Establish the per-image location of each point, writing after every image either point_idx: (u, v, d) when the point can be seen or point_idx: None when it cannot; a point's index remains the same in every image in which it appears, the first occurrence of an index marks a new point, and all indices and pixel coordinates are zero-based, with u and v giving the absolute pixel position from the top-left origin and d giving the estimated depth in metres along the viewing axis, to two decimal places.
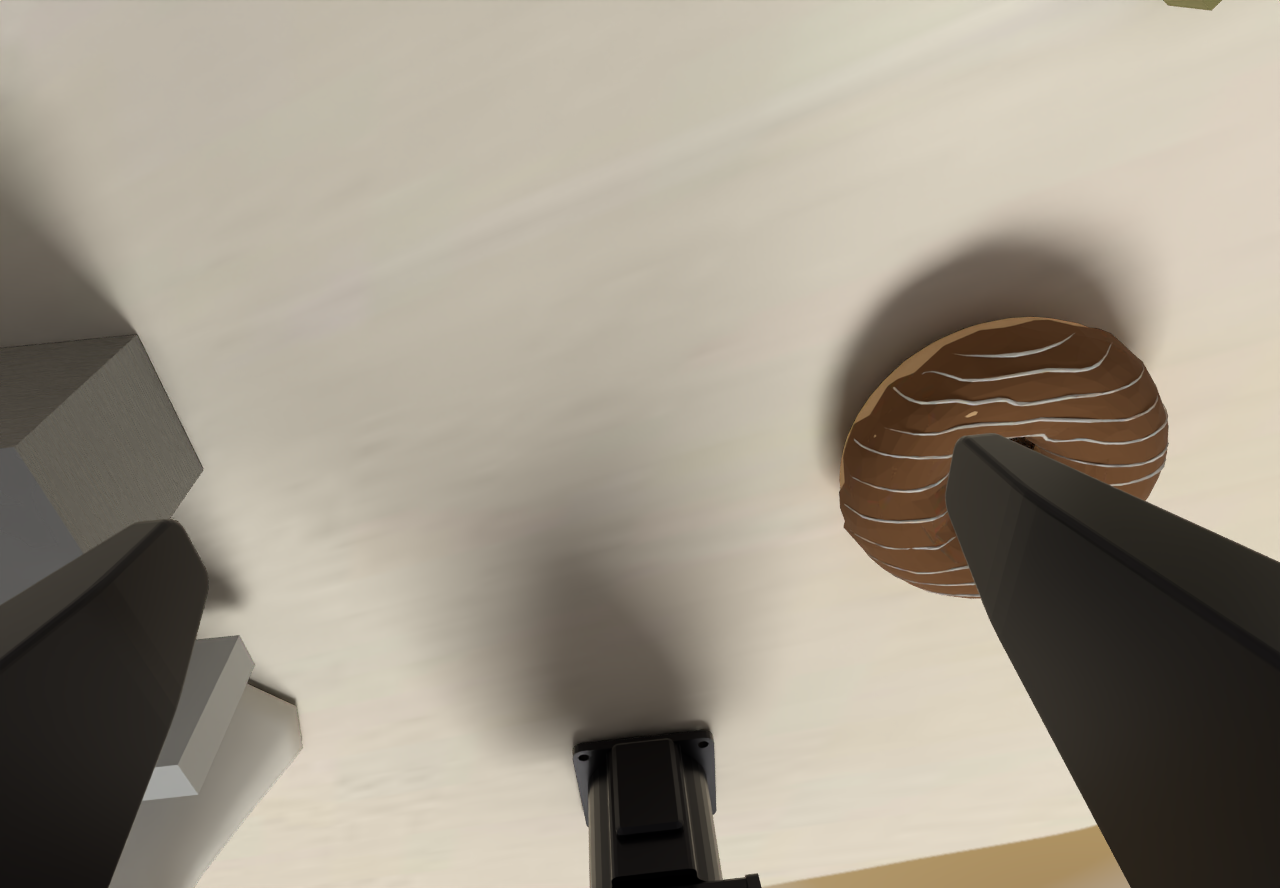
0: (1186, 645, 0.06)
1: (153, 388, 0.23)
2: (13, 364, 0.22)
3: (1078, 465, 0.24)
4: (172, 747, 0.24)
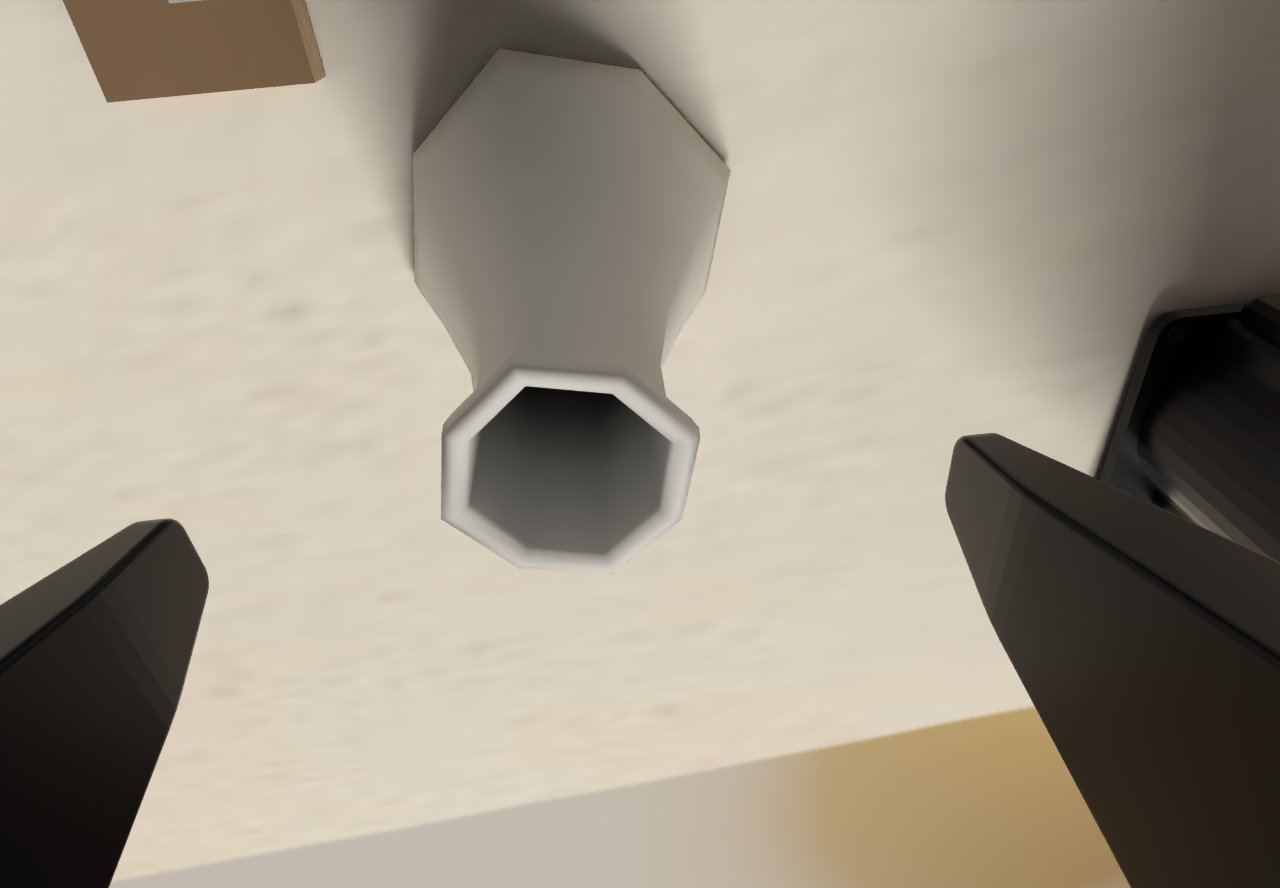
0: (1186, 645, 0.06)
1: None
2: None
3: None
4: None
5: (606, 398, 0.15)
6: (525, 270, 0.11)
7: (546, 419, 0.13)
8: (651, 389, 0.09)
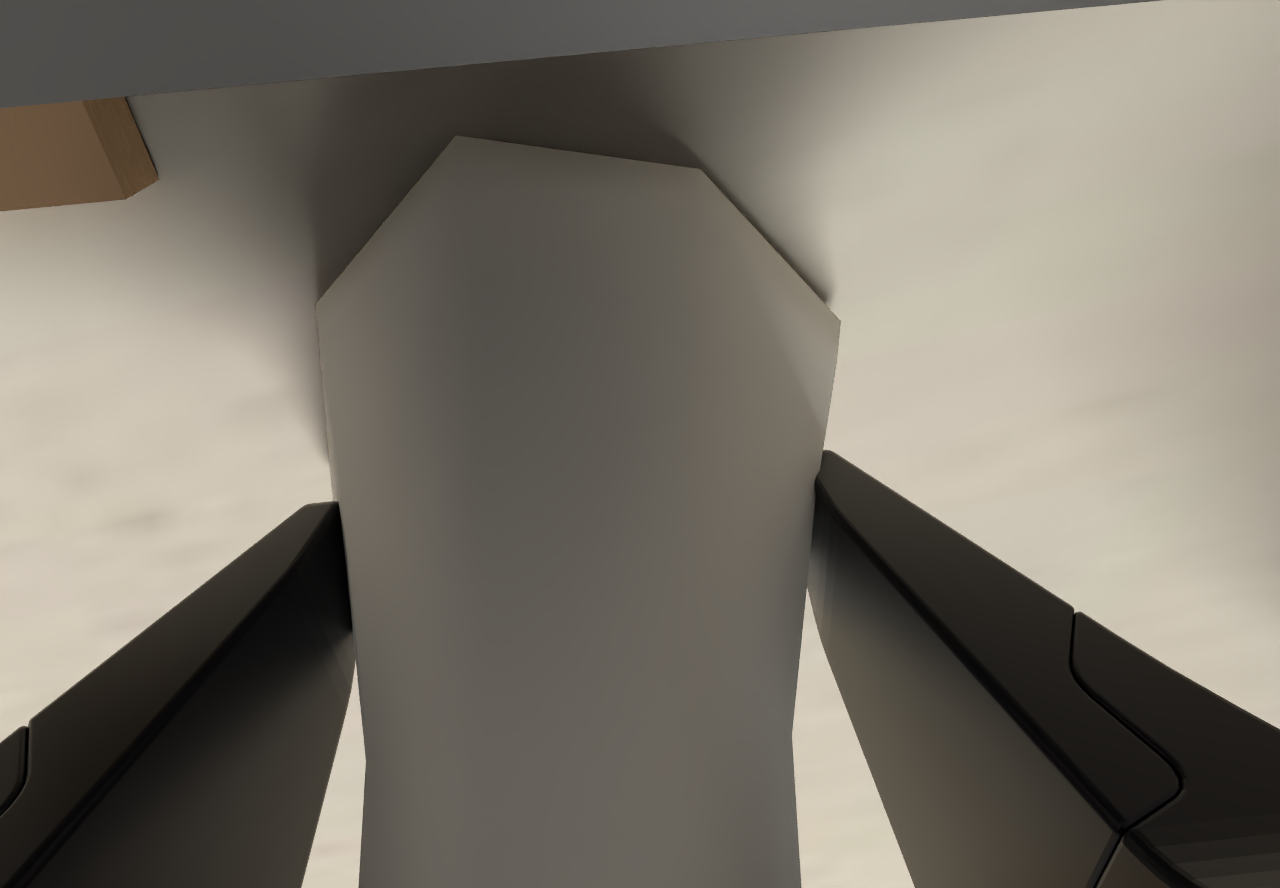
0: (939, 672, 0.06)
1: None
2: None
3: None
4: None
5: None
6: (473, 754, 0.05)
7: None
8: None
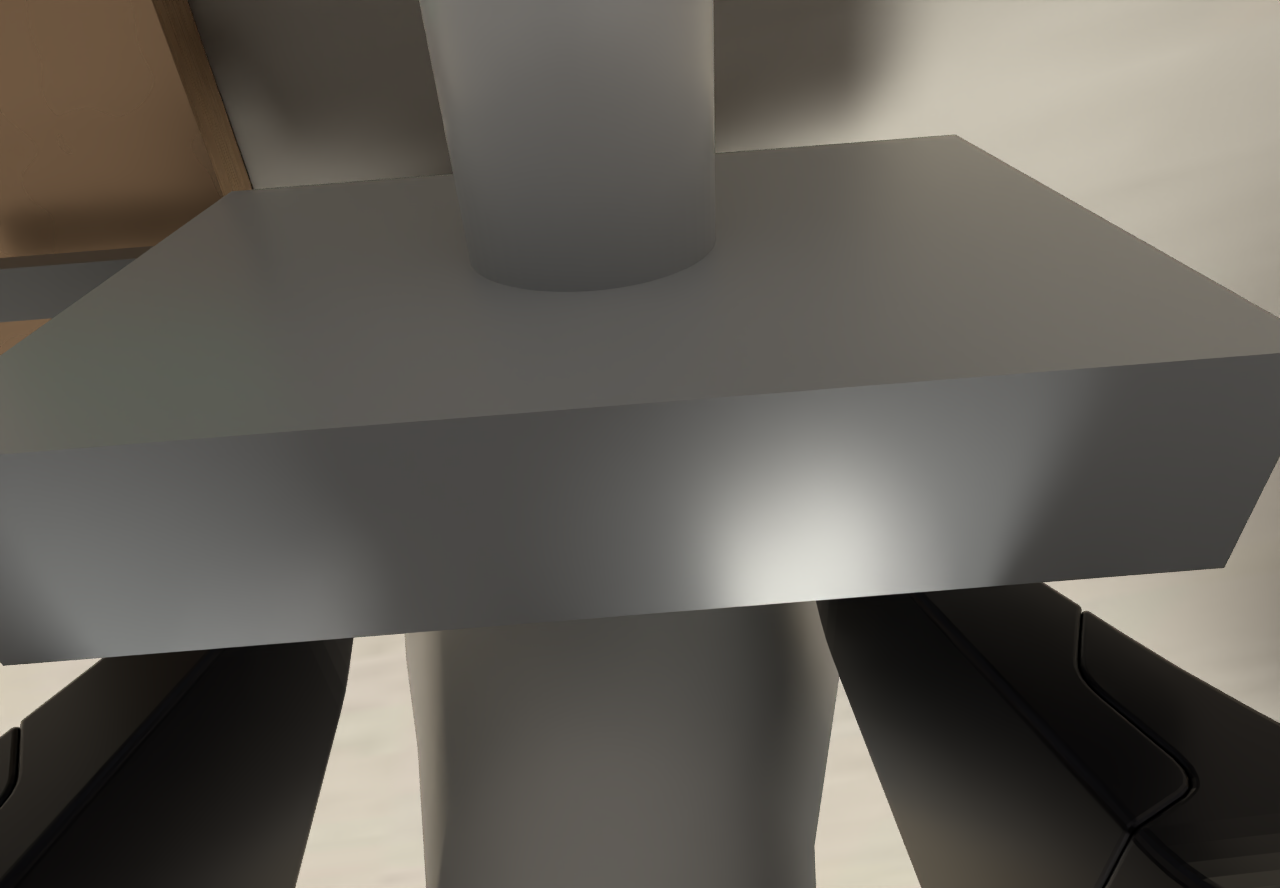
0: (946, 671, 0.06)
1: None
2: None
3: None
4: (1174, 305, 0.05)
5: None
6: (551, 793, 0.06)
7: None
8: None
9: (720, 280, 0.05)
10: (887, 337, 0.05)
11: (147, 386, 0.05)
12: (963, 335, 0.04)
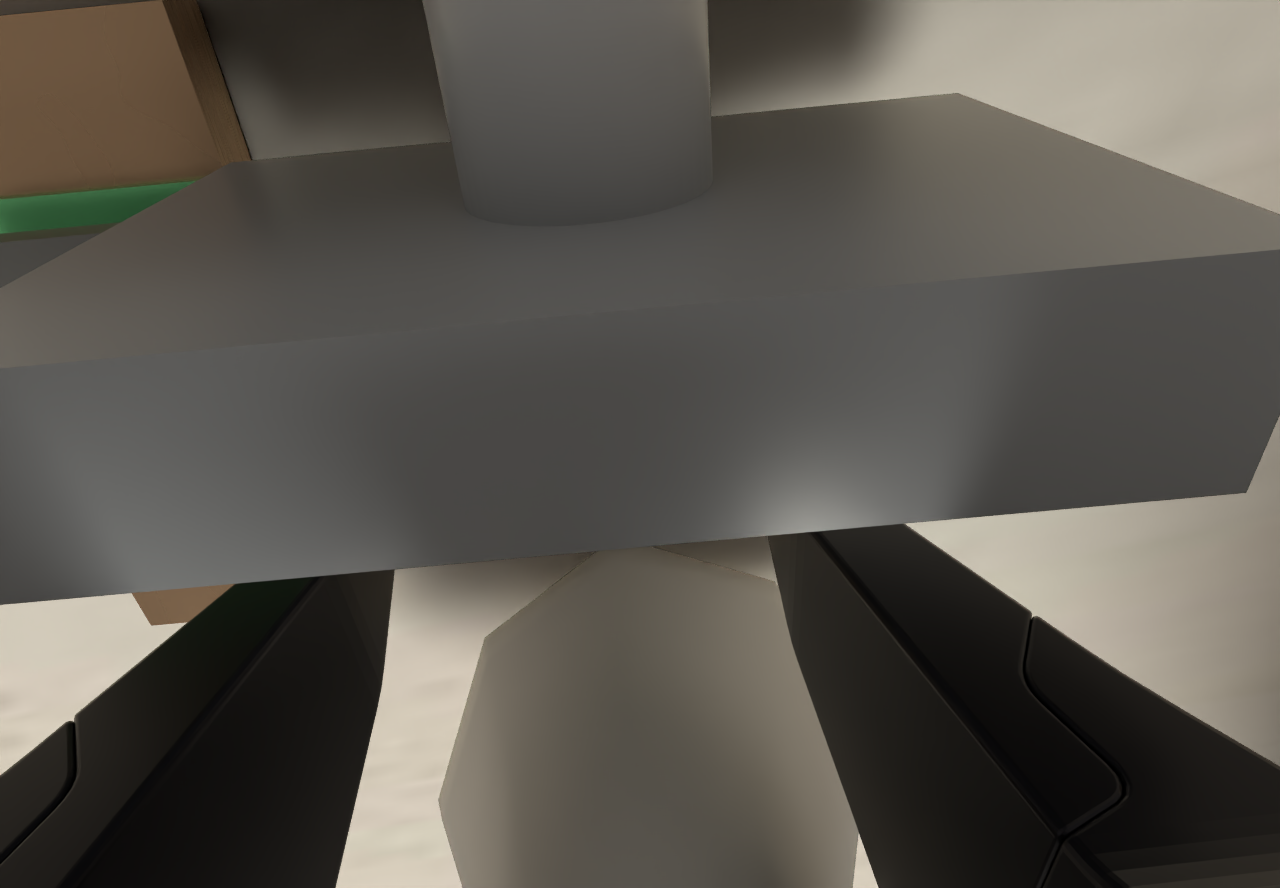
0: (897, 677, 0.06)
1: None
2: None
3: None
4: (1185, 214, 0.04)
5: None
6: (628, 843, 0.07)
7: None
8: None
9: (716, 212, 0.05)
10: (888, 250, 0.04)
11: (135, 313, 0.05)
12: (967, 246, 0.04)
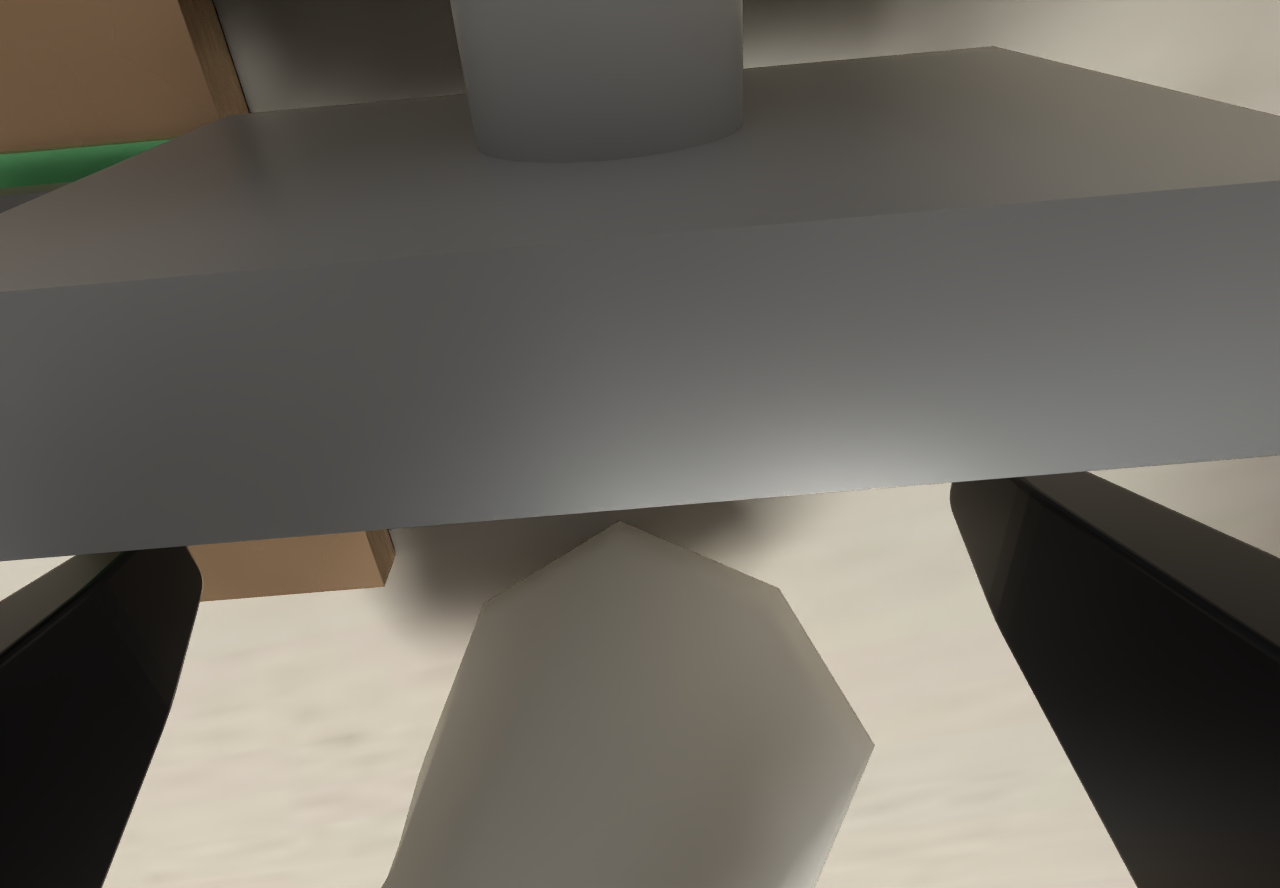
0: (1194, 644, 0.06)
1: None
2: None
3: None
4: (1272, 142, 0.04)
5: None
6: (472, 857, 0.07)
7: None
8: None
9: (750, 147, 0.05)
10: (947, 178, 0.04)
11: (118, 243, 0.04)
12: (1035, 172, 0.04)
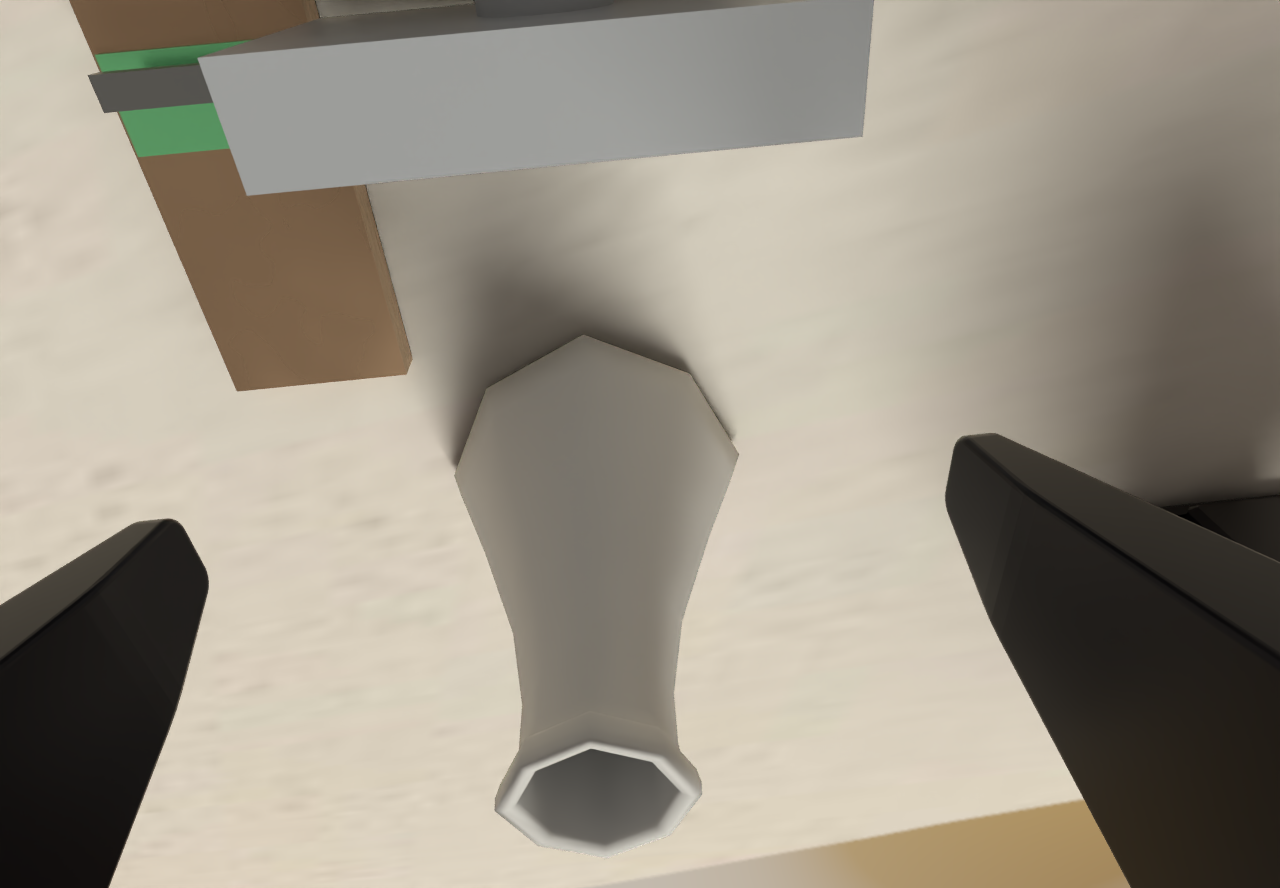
0: (1185, 645, 0.06)
1: None
2: None
3: None
4: None
5: None
6: (587, 593, 0.14)
7: None
8: (677, 758, 0.12)
9: (610, 8, 0.10)
10: (682, 8, 0.09)
11: (324, 41, 0.09)
12: (717, 5, 0.09)
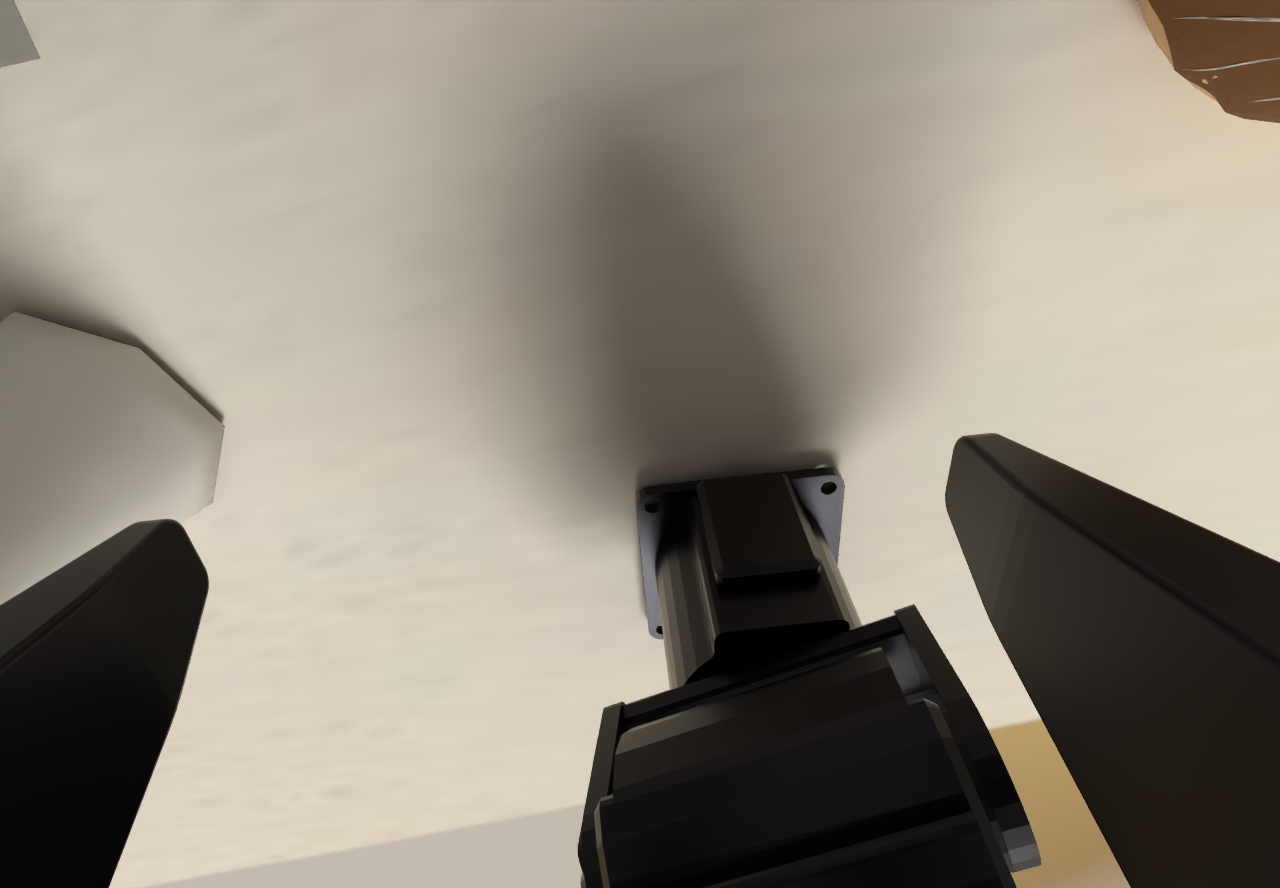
0: (1186, 645, 0.06)
1: None
2: None
3: None
4: None
5: None
6: None
7: None
8: None
9: None
10: None
11: None
12: None
